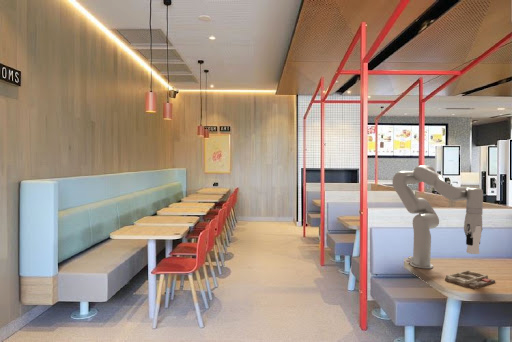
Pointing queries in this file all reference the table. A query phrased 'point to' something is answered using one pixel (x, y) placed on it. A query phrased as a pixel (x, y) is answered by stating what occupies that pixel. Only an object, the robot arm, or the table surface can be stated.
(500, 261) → the table surface
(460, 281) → the divided sorting tray
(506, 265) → the table surface
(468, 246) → the silver piece
